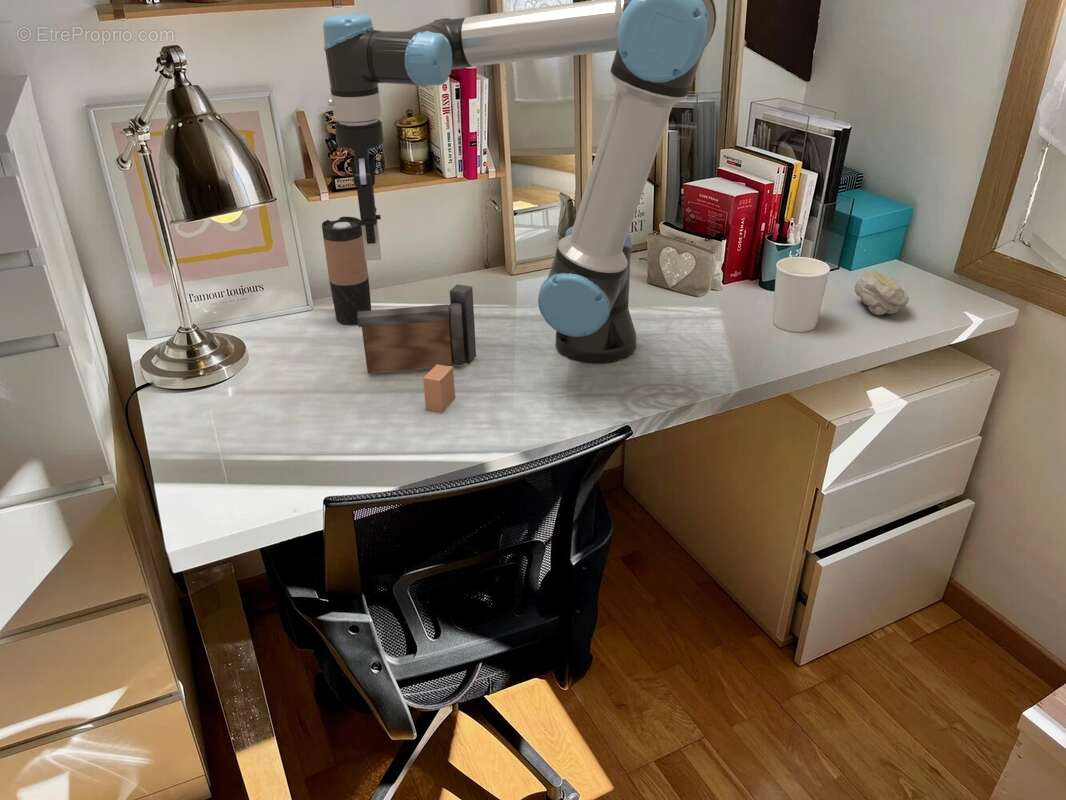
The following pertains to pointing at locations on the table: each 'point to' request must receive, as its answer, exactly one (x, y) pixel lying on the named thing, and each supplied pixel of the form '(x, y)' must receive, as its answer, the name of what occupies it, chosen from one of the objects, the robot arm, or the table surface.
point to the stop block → (439, 388)
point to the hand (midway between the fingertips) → (373, 258)
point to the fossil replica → (880, 293)
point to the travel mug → (346, 268)
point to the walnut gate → (412, 337)
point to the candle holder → (799, 293)
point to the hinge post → (466, 318)
